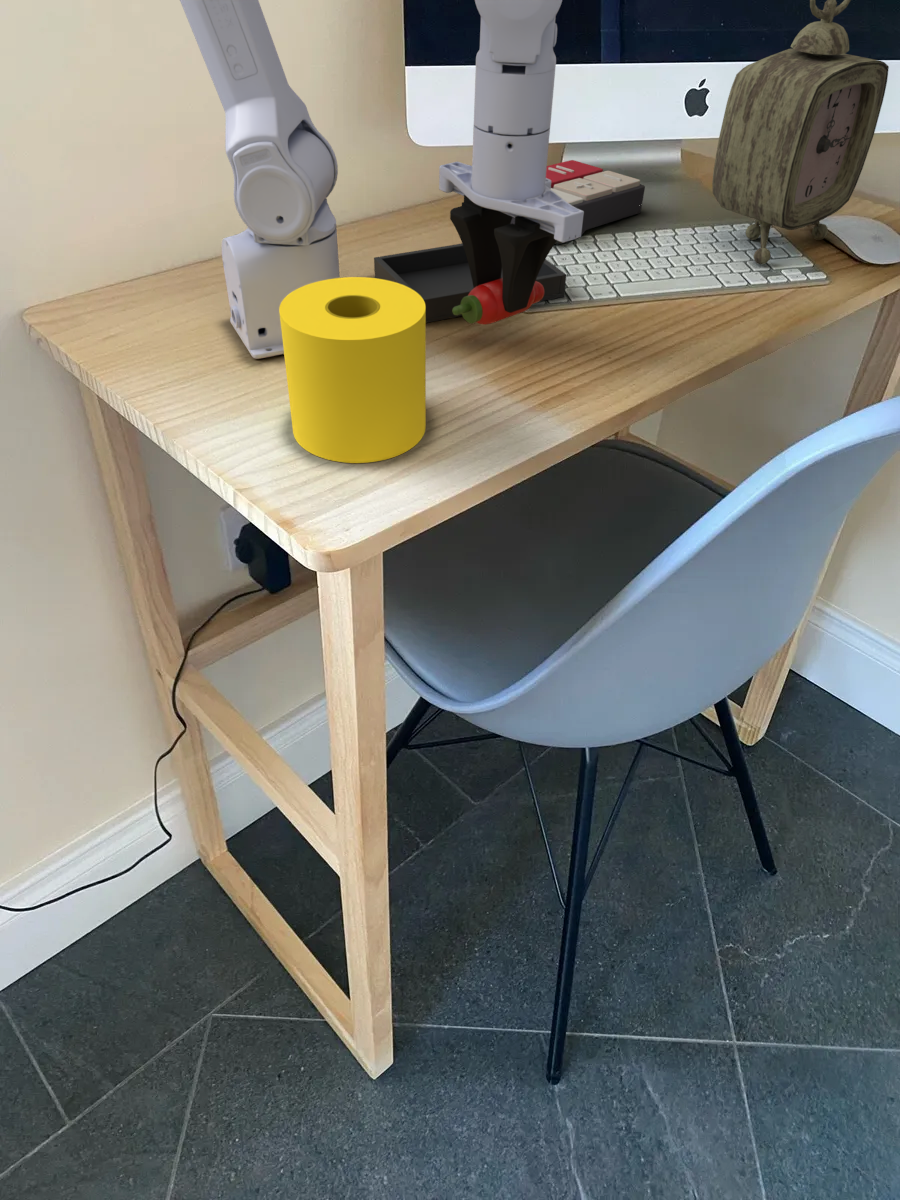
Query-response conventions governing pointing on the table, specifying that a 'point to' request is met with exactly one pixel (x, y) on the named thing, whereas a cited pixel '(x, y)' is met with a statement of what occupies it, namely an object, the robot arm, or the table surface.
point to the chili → (491, 303)
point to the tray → (449, 277)
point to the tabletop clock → (798, 131)
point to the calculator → (595, 192)
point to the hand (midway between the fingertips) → (501, 301)
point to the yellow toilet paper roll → (355, 367)
